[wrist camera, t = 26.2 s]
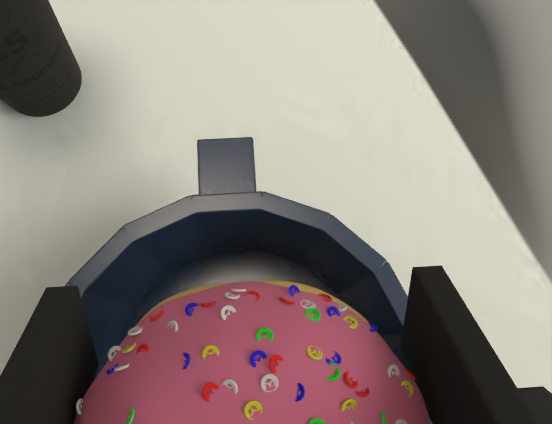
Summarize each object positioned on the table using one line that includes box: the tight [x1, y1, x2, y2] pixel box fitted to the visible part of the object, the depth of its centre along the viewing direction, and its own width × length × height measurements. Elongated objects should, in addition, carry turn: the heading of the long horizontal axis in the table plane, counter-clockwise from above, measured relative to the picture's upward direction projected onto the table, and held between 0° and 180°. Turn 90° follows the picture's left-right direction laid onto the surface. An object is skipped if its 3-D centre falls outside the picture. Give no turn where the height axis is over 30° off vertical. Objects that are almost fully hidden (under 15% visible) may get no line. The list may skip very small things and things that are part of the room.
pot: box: [65, 137, 432, 424], centre depth 22 cm, size 15×20×9 cm
